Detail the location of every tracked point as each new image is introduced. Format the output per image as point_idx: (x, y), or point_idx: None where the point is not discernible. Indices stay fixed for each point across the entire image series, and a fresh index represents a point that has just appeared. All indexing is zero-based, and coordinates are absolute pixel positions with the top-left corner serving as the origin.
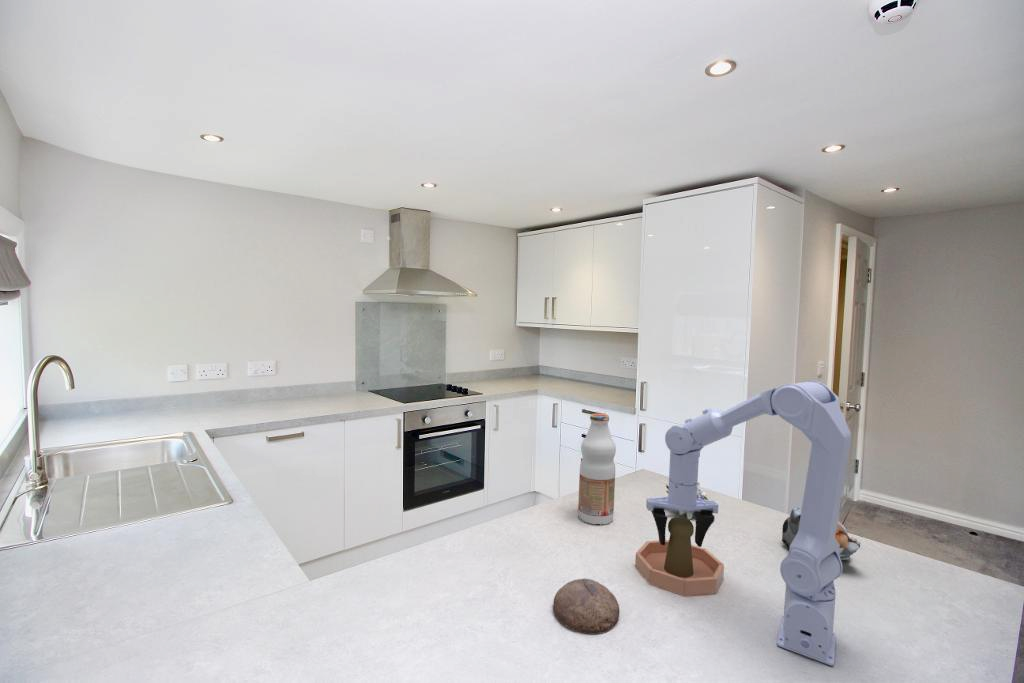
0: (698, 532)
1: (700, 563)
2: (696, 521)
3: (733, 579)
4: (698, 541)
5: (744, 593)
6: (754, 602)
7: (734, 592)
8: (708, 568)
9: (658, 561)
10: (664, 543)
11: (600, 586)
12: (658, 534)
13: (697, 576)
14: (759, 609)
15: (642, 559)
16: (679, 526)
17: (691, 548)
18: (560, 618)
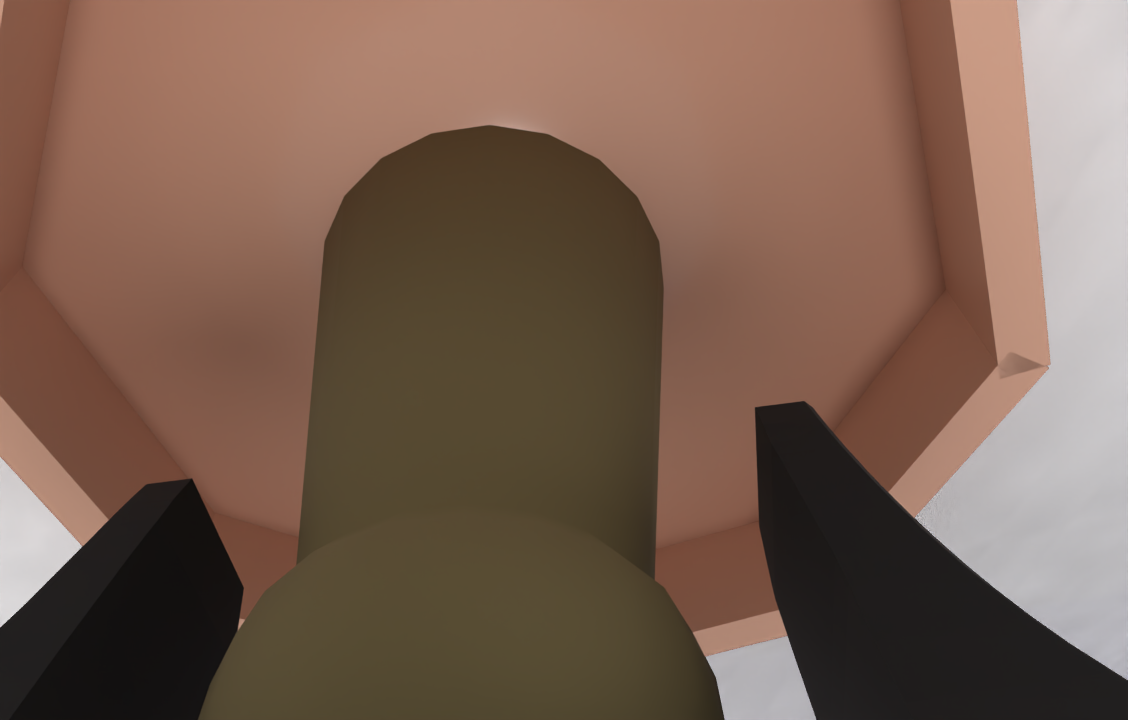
0: (821, 660)
1: (821, 58)
2: (879, 704)
3: (1091, 261)
4: (777, 581)
5: (1055, 464)
6: (1063, 556)
7: (967, 469)
8: (881, 166)
9: (249, 145)
10: (231, 616)
11: None
12: (87, 552)
13: (683, 367)
14: (1046, 620)
15: (29, 472)
16: None
17: (657, 476)
18: None
